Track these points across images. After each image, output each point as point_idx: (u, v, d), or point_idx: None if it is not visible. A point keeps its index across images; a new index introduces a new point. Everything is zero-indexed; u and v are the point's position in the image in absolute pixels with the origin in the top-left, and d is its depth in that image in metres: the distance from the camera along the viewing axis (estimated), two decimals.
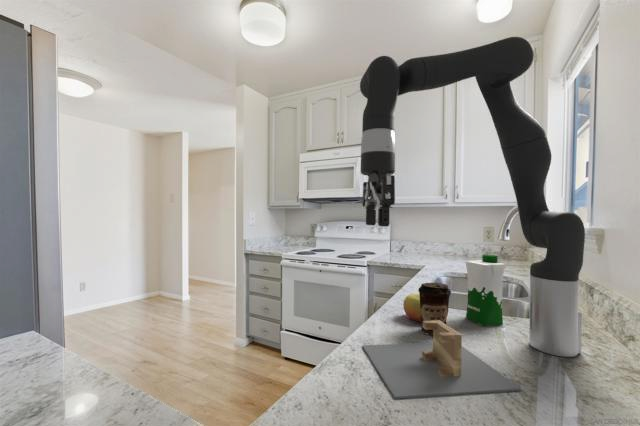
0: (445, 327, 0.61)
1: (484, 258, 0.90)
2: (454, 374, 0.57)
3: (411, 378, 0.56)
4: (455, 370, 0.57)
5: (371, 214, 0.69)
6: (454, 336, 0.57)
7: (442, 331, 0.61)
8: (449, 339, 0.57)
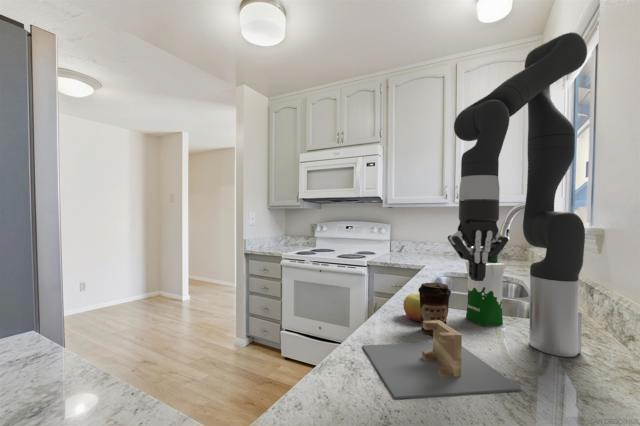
0: (445, 327, 0.61)
1: None
2: (454, 374, 0.57)
3: (411, 378, 0.56)
4: (455, 370, 0.57)
5: None
6: (454, 336, 0.57)
7: (442, 331, 0.61)
8: (449, 339, 0.57)
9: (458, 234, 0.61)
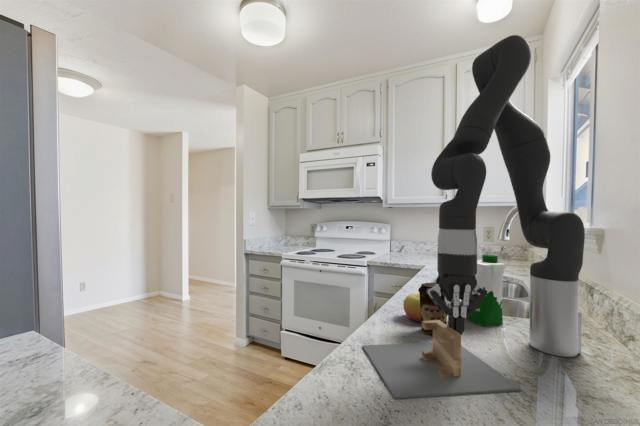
0: (444, 327, 0.61)
1: (484, 258, 0.90)
2: (454, 374, 0.57)
3: (411, 378, 0.56)
4: (455, 369, 0.57)
5: None
6: (453, 336, 0.57)
7: (441, 331, 0.61)
8: (448, 339, 0.57)
9: (436, 288, 0.60)
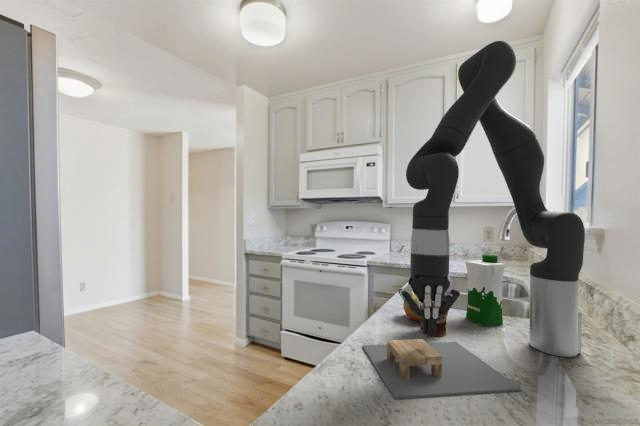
0: (394, 354, 0.60)
1: (484, 258, 0.90)
2: (440, 363, 0.57)
3: (411, 378, 0.56)
4: (436, 362, 0.57)
5: None
6: (403, 366, 0.56)
7: None
8: (406, 371, 0.56)
9: (408, 289, 0.60)
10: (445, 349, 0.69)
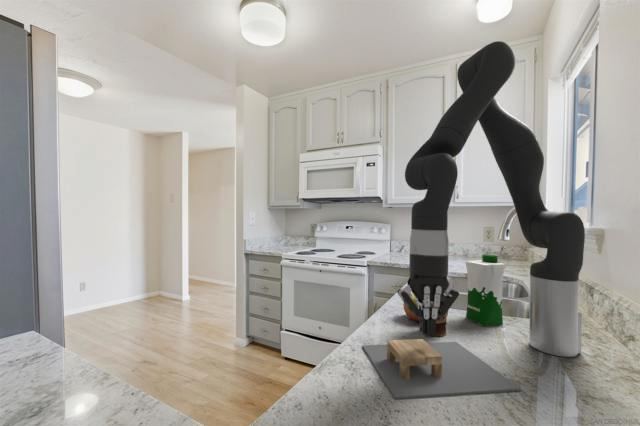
0: (394, 354, 0.60)
1: (484, 258, 0.90)
2: (440, 363, 0.57)
3: (411, 378, 0.56)
4: (436, 362, 0.57)
5: None
6: (403, 366, 0.56)
7: None
8: (406, 371, 0.56)
9: (407, 289, 0.60)
10: (445, 349, 0.69)
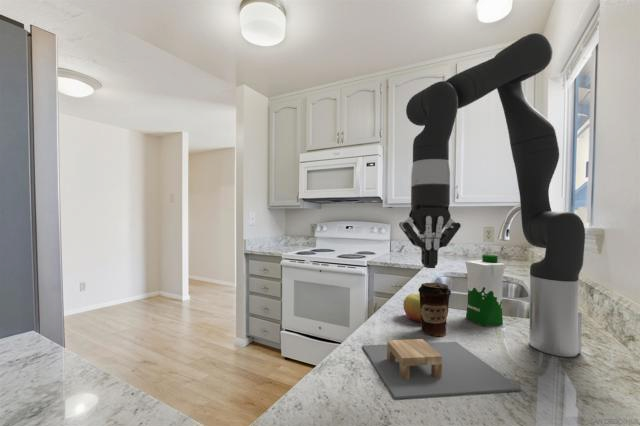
0: (394, 354, 0.60)
1: (484, 258, 0.90)
2: (440, 363, 0.57)
3: (411, 378, 0.56)
4: (436, 362, 0.57)
5: None
6: (403, 366, 0.56)
7: None
8: (406, 371, 0.56)
9: (409, 220, 0.60)
10: (445, 349, 0.69)
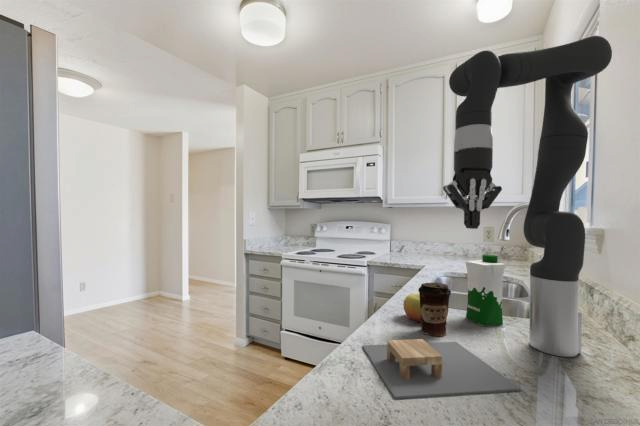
0: (394, 354, 0.60)
1: (484, 258, 0.90)
2: (440, 363, 0.57)
3: (411, 378, 0.56)
4: (436, 362, 0.57)
5: None
6: (403, 366, 0.56)
7: None
8: (406, 371, 0.56)
9: (453, 183, 0.63)
10: (445, 349, 0.69)
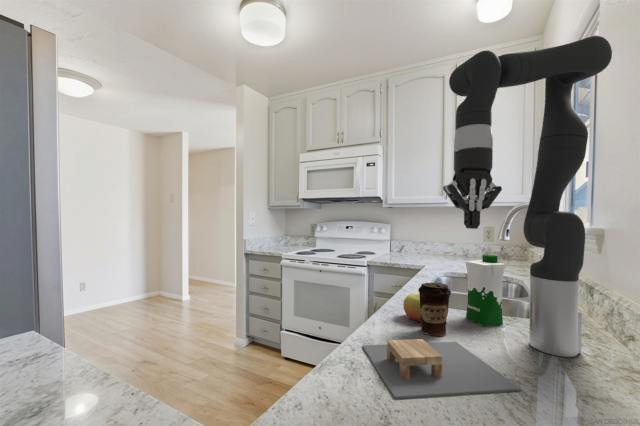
0: (394, 354, 0.60)
1: (484, 258, 0.90)
2: (440, 363, 0.57)
3: (411, 378, 0.56)
4: (436, 362, 0.57)
5: None
6: (403, 366, 0.56)
7: None
8: (406, 371, 0.56)
9: (453, 183, 0.63)
10: (445, 349, 0.69)
